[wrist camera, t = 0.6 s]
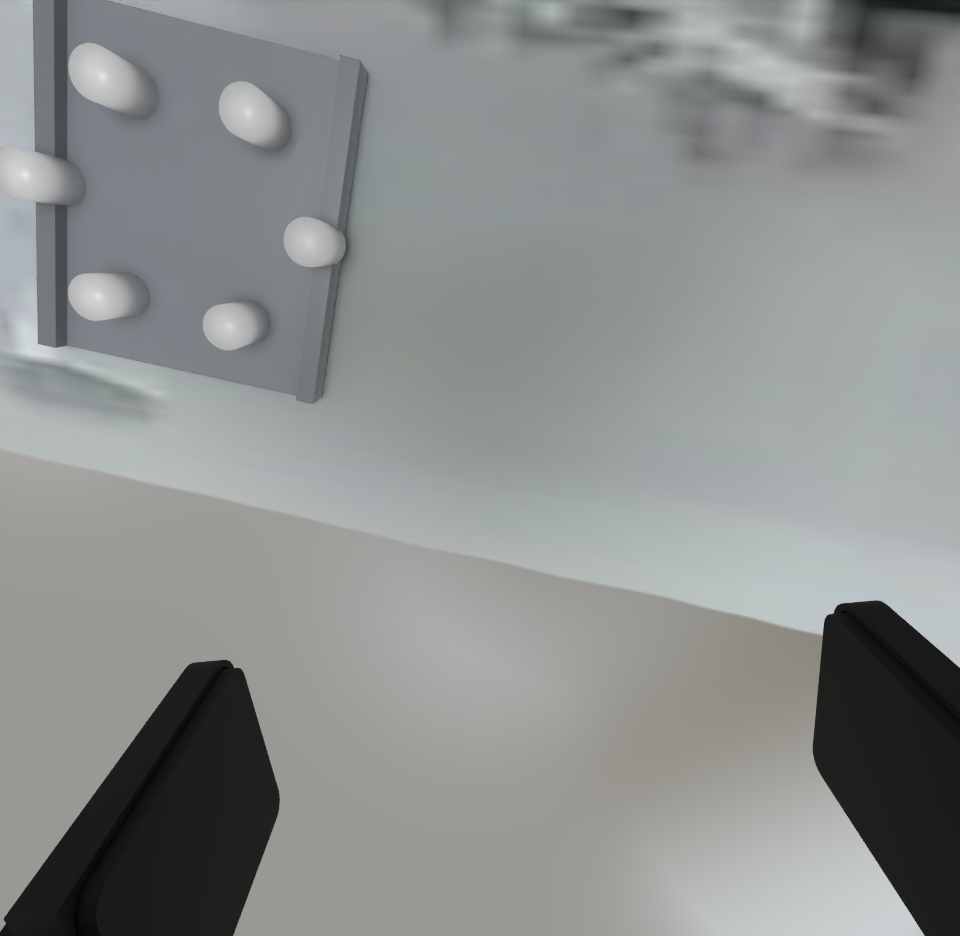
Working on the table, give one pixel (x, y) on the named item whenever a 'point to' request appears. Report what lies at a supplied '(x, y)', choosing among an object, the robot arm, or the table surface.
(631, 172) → the table surface
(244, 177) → the tray
